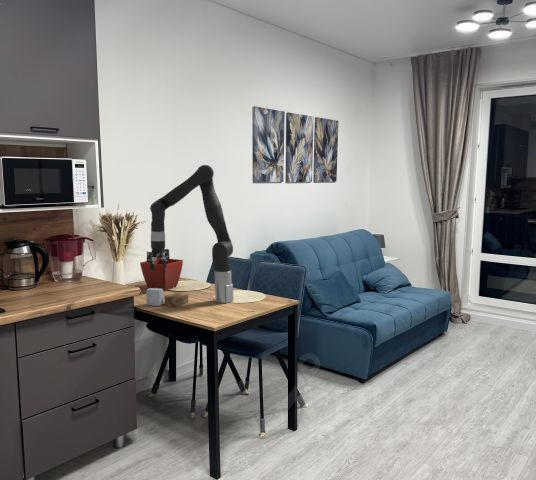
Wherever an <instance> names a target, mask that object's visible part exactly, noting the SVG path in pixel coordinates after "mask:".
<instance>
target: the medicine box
mask: <svg viewBox="0 0 536 480" xmlns="http://www.w3.org/2000/svg"><path fill="white" fill-rule="evenodd" d="M145 290H146V291H145V294H146V295H145V296H146V305H147V306H152V307H153V306H155V307H161V306H163V305H165V301H164V291H163V289H158V288H149V289H148V288H147V289H145Z"/></svg>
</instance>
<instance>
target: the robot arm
mask: <svg viewBox="0 0 536 480" xmlns="http://www.w3.org/2000/svg"><path fill="white" fill-rule="evenodd" d="M214 174H215V173H214V169H213V167H212V166H210V165H208V164H203V165H200V166H199V167H198V168H197V170H195V172H193V173H192V175H190V176H189V177H188V178H187V179H186V180H183V182H182V183H180V184H178V185H177V186H175V187H174V188H172V189H171V190H170V191H169V192H167V193H166V194H165V195H164V196H162V197H160V198H159V199H156V200H155V201H154V202H153V203H151V205H150V207H149V209H150V213H151V223H150V248H151V251H146V261H147V263H150V270H151V271H154V262H155V261H156V260H157V259H159V258H161V259H162V260H163V261H162V268H166V266H167V264H166V262H167V260H169V259H171V258H170V249H169V248H166V233H165V217H166V210H167V209H169V208H170V207H173V206H175V205H176V204H177V203H179V202H180V201H182V200H183V199H184V198H185V197H186V196H187V195H189V193H191V192H192V191H193V190H195V189H196V188H197V187H199V189H200V191H201V195H202V196H201V197H202V201H203V208H204V213H205V216H206V220H207V222H208V224H209V225H210V226H211V228H212V230H213V231H214V233H215V235H216V236H215V237H216V240H217V242H216V243H214V244H213V245H212V249H211V258H212V266H213V268H214V269H213V270H214V301H215V303H218V304H228V303H231V302H234V284H233V283H232V266H231V264H230V263H229V259H228V258H229V257H230V256H232V255H233V251H234V246H233V243H232V240H231V238H230V235H229V231H228V229H227V228H228V227H227V224H226V220H225V216H224V212H223V208H222V204H221V201H220V200H219V199H220V198H219V197H218V195H217V193H216V190H215V185H214ZM230 301H231V302H230Z"/></svg>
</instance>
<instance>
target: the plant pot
mask: <svg viewBox="0 0 536 480" xmlns="http://www.w3.org/2000/svg"><path fill="white" fill-rule="evenodd" d="M162 261H163V260H162V259H161V258H159V259H157V260H156V261H155V262H154V271H151V270H150V263H147V260H146V261H141V262H139V265H140V269H141V273H142V276H143V280H144V281H145V284H146V287H147V289H149V288H158V289H163V292H164V291H168V290H170V288H171V289H174V288H176V286H177V287H178V284H179V281H180V277H181V273H182V271H183V263H184V259H176V258H170V259H169V260H167V262H166V264H167V266H166V268H162ZM173 287H174V288H173Z"/></svg>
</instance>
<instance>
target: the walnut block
mask: <svg viewBox="0 0 536 480" xmlns="http://www.w3.org/2000/svg"><path fill="white" fill-rule="evenodd" d="M163 302H164V305H166V306H170V307H176V308H178V307H181V306H183V305H187V304H189V294H188V293H187V294H186V293H180V292H174V293H170V294H167V295H163Z"/></svg>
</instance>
